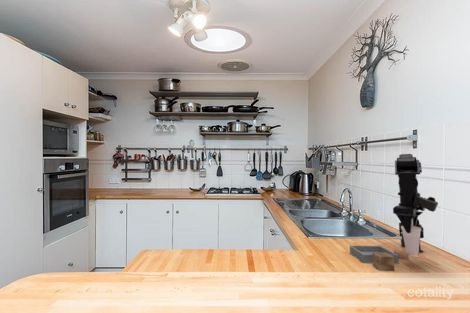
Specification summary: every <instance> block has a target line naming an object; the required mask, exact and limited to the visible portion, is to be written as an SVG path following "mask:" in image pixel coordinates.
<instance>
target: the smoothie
mask: <svg viewBox="0 0 470 313" xmlns="http://www.w3.org/2000/svg"><path fill="white" fill-rule="evenodd" d="M401 229H402V232H401V233H403V238H404V243H405V248H406V253H407V254H408V255H412V256H419V253H420V252H419V243H420V244H421V238H420V231H421V228H420V227H416V226H413V219H412V225H411V232H410V233H407V232H406V230H405V229H404V227H403V226H401Z"/></svg>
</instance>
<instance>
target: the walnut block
mask: <svg viewBox="0 0 470 313" xmlns="http://www.w3.org/2000/svg"><path fill="white" fill-rule="evenodd" d="M372 256H373V263H372V267H373V268H375V269H376V270H378V271H380V272H394V271H395V264H394V257H393V256H391V255H389V254H387V253H372Z"/></svg>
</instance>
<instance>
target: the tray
mask: <svg viewBox="0 0 470 313" xmlns="http://www.w3.org/2000/svg"><path fill="white" fill-rule="evenodd" d="M372 253H387V254H389V255H391V256H393V257H394V265H395V264H397V265H398V264H400V262H399V261H400V259H398V255H397V254H395V253H394V251H392V250H389V249H387V248H385V247H383V246H381V245H349V254H351V255H353V257H354V258H356V259H357V260H359V261H360V262H362V263H363V264H373V256H372Z"/></svg>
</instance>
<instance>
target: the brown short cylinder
mask: <svg viewBox="0 0 470 313" xmlns="http://www.w3.org/2000/svg"><path fill="white" fill-rule="evenodd" d="M393 253H395V254H397V255H398V259H399V260H402V261H403V260H404V261H405V260H406V261H407V260H409V258H410V257H409V254H407V253H406V248H405V247H401V245H400V246H399V245H398V246H393Z"/></svg>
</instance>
